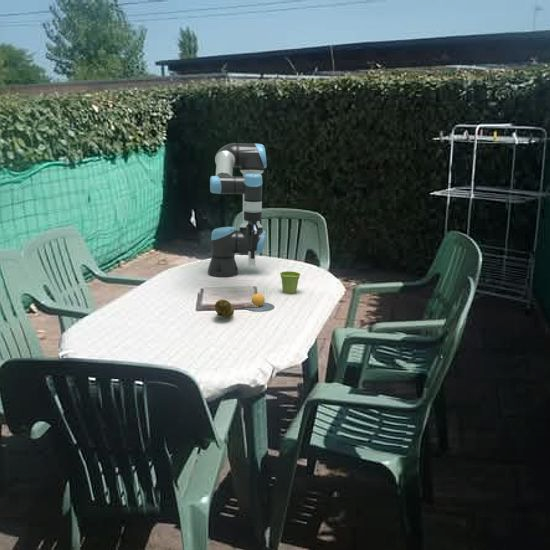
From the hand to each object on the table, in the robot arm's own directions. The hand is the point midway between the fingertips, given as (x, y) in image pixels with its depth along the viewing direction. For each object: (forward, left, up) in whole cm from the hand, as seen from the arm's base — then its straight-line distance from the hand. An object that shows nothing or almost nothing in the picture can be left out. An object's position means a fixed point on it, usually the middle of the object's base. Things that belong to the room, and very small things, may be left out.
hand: (251, 265), depth 253 cm
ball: (+13, -4, -12) cm, 18 cm away
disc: (+13, -4, -14) cm, 20 cm away
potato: (+20, -22, -15) cm, 33 cm away
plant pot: (0, +20, -15) cm, 25 cm away
